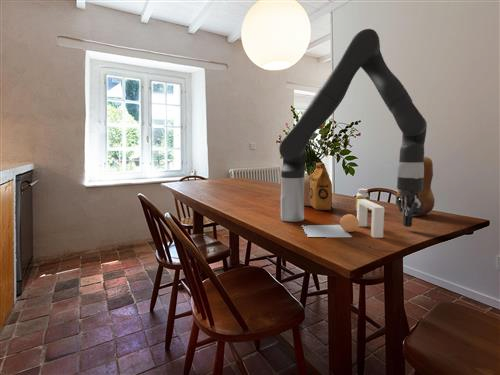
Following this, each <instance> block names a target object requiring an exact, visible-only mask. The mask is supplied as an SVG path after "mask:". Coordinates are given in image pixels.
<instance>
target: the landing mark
mask: <svg viewBox="0 0 500 375" xmlns="http://www.w3.org/2000/svg"><path fill="white" fill-rule="evenodd" d="M304 225H305V226H304ZM306 225H307V224H302V225H301V226H300V227H301V228H302V227H303V228H302V229H304V230H303V231H304V233H305V235H306V234H307V235H306V236H307V238H308V237H326V238H353V235H351V234H350V232H347V231H345V230H343V229H342V227H341V225H340V224H317V225H316V224H315V225H314V224H313V225H312V224H309V225H307V226H306Z"/></svg>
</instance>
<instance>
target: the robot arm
mask: <svg viewBox="0 0 500 375" xmlns="http://www.w3.org/2000/svg"><path fill="white" fill-rule="evenodd" d="M380 43H381V42H380V37H379V34H378V33H377V31H376V30H375V29H373V28H365V29H362V30H361V31H359V32H357V33H356V34H355V35H354V36H353V38H352V39H351V41H350V42H349V44H348V46H347V47H346V49H345V50H344V52H343V54H342V56H341V58H340V60H339V62H338V63H337V64H336V66H335V67H334V68H333V70H332V71H331V72H330V74H329V75H328V76H327V78H326V79H325V81H324V82H323V83H322V84H321V86H320V88H318V90H317V92H316V93H315V94H314V96H313V97H312V99H311V100H310V102H309V104H308V105H307V107H306V108H305V110H304V111H303V113H302V115H301V116H300V118H299V119H298V121H297V122H296V124H295V125H294V126H293V127H292V128H291V129H290V131H289V132H288V133H287V135H285V136H284V138H283V139H282V140H281V141H280V144H279V148H278V149H279V155H280V157H282V168H281V171H280V219H281V221H282V222H293V223H294V222H303V221H304V220H305V173H306V165H307V164H306V159H307V156H306V155H307V154H306V153H307V150H306V145H307V144H308V142H309V141H310V139H311V138H312V137H313V134H315V132H316V131H317V130H318V129H320V127H321V126H323V124H325V123H326V122H327V120H328V119H329V118H330V117H331V116H332V115H333V113H334V112H335V111H336V110H337V108H338V107H339V105H341V103H342V101H343V99H344V98H345V96H346V94H347V92H348V90H349V87H350V85H351V84H352V80H353V78H354V77H355V76H356V74H357V72H359V70H360V69H362V70H363V71H364V73H366V75H367V76H368V77H369V78H370V80H371V82H372V83H373V85H374V86H375V89H376V90H377V92H378V94H379V96H380V97H381V99H382V100H383V102H384V105H385V106H386V107H387V108H388V111H390V113H391V114H392V116H393V118H394V120H395V123H396V125H397V126H398V129H399V130H400V131H401V133H402V138H401V139H402V140H401V146H400V150H399V161H398V167H397V179H396V180H397V182H396V183H397V184H396V189H397V191H398V190H401V192H400V196H399V197H397V196H396V198H395V201H396V200H397V203H398V205H397V207H398V206H399V207H398V208H399V212H400V213H402V216H403V220H402V225H403V226H404V227H406V228H412V227H413V226H412V225H413V217H415V216H414V215H417V214H418V213H419V211H420V210H421V208H422V206H423V202H419V200H418V199H419V194H418V192H419V191H421V190H423V178H424V156H425V141H426V136H427V129H428V128H427V124H428V123H427V121H426V119H425V117H424V116H423V115H422V113H420V111H419V109H418V108H417V107H416V106H415V104H414V103H413V99H412V97H411V96H410V94H409V93H408V91H407V90H406V88H405V86H404V85H403V83H402V82H401V81H400V79H399V78H398V77H397V76H396V75H395V74H394V73H393V72H392V71H391V70H390V68H389V67H388V66H387V64H386V62H385V60H384V57H383V55H382V52H381V44H380ZM414 211H415V212H414Z"/></svg>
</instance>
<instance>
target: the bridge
mask: <svg viewBox="0 0 500 375" xmlns="http://www.w3.org/2000/svg"><path fill="white" fill-rule="evenodd" d="M367 210H368V211H369V210H371V227H370V236H371V237H372V238H377V239H378V238H382V239H383V238H384V225H385V207H384V206H382V205H379V204H378V203H376V202H373V201H371V200H370V199H369V200H366V199H357V210H356V218H357V219H358V221H359V226H358V227H368V211H367Z"/></svg>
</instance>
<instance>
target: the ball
mask: <svg viewBox="0 0 500 375" xmlns="http://www.w3.org/2000/svg"><path fill="white" fill-rule="evenodd" d="M339 225H340V226H341V227H342V229H343V230H345V231H346V232H348V233H352V232H355V231H356V230H357V229H359V227H360V226H359V221H358V219H357V216H355V215H354V214H351V213H348V214H344V215H343V216H341V218H340V221H339Z"/></svg>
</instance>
